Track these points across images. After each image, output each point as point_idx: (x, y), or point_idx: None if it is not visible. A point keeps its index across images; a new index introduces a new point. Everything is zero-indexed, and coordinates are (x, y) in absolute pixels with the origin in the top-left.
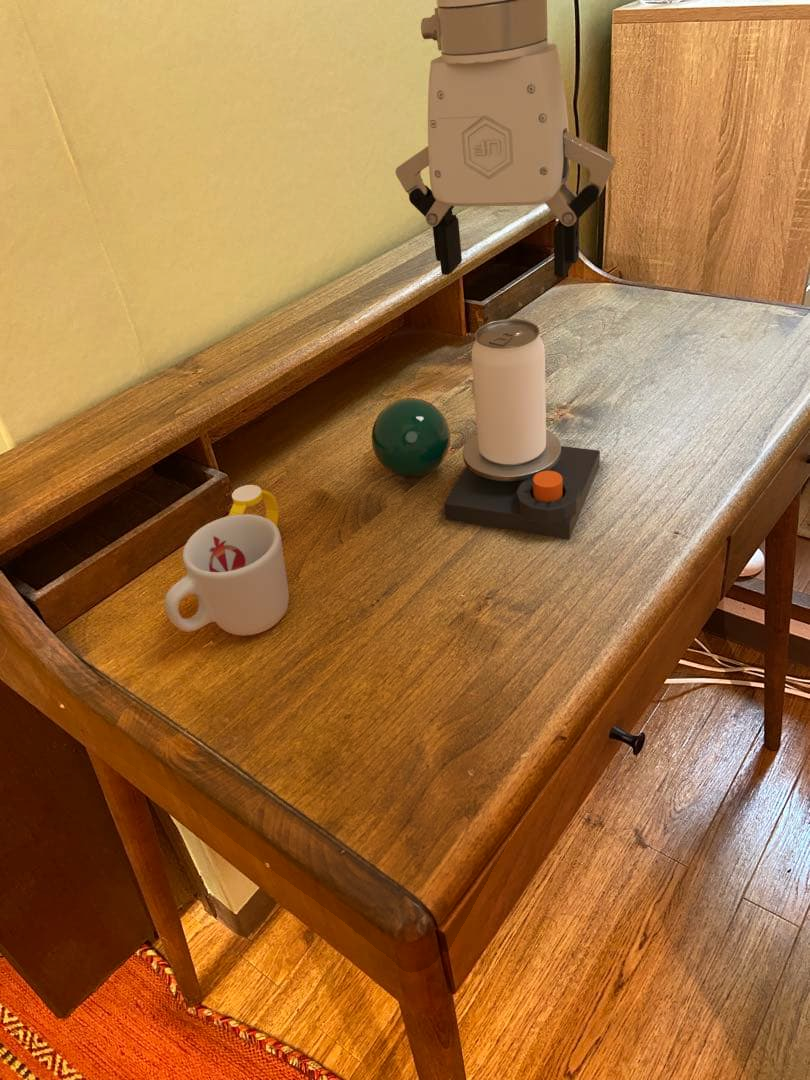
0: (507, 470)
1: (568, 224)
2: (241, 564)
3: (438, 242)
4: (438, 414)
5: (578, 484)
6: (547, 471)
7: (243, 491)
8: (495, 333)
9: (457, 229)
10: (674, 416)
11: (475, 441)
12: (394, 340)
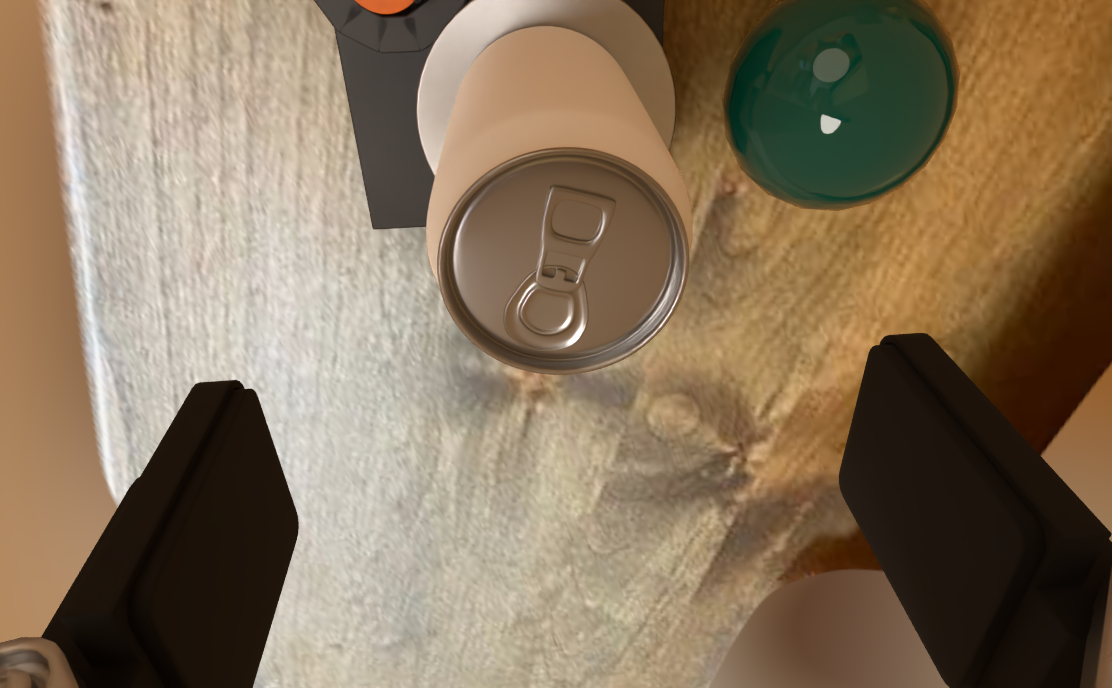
0: (520, 12)
1: (21, 653)
2: None
3: (1035, 454)
4: (773, 151)
5: (360, 77)
6: (396, 6)
7: None
8: (615, 277)
9: (925, 617)
10: (311, 414)
11: None
12: None
